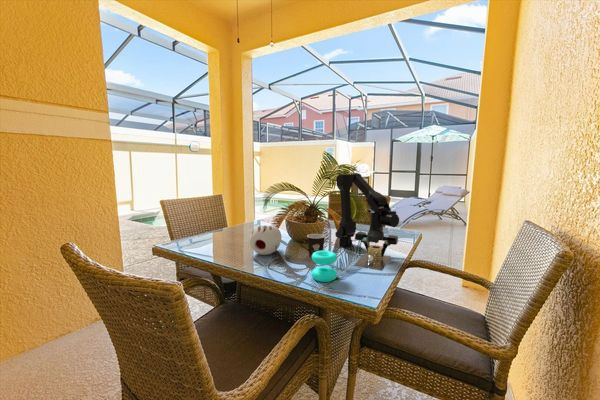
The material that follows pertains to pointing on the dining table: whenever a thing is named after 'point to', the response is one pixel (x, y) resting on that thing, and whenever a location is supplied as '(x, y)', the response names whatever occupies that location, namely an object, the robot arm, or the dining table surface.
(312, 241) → the coffee mug
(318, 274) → the donuts
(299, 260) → the dining table surface
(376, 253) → the brass collar
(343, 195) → the robot arm
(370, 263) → the base plate
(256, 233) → the decorative object
